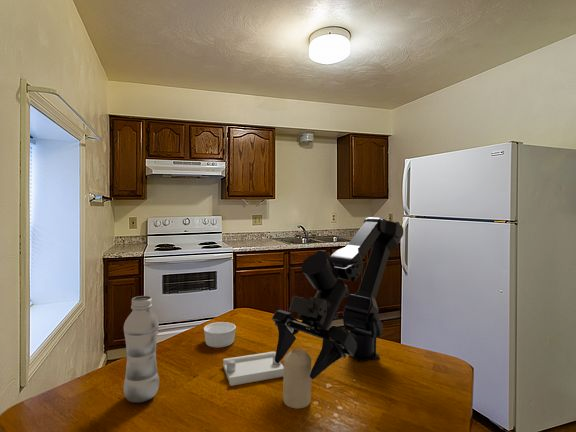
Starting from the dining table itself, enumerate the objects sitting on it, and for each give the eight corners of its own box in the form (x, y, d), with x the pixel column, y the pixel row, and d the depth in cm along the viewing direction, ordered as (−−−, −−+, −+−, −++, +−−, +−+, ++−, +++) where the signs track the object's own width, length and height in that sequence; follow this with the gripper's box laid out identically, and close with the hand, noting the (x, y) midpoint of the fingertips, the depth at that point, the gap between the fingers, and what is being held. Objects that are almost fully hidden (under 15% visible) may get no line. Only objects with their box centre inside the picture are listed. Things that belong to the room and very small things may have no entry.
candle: (291, 412, 62) (292, 359, 61) (278, 396, 66) (279, 348, 66) (315, 404, 64) (317, 354, 64) (301, 390, 69) (302, 343, 69)
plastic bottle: (136, 412, 61) (137, 305, 60) (116, 400, 64) (116, 299, 64) (166, 395, 66) (166, 297, 66) (145, 385, 70) (146, 292, 69)
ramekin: (196, 344, 91) (197, 328, 91) (219, 333, 99) (219, 319, 99) (220, 351, 86) (220, 335, 86) (242, 340, 94) (242, 325, 94)
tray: (274, 358, 83) (274, 346, 83) (287, 375, 75) (287, 362, 75) (223, 366, 79) (223, 354, 78) (230, 385, 70) (230, 372, 70)
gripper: (278, 273, 74) (239, 336, 66) (351, 288, 61) (314, 367, 53) (299, 301, 80) (266, 361, 72) (369, 320, 68) (339, 395, 60)
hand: (292, 369), depth 64 cm, fingers open, 9 cm apart
